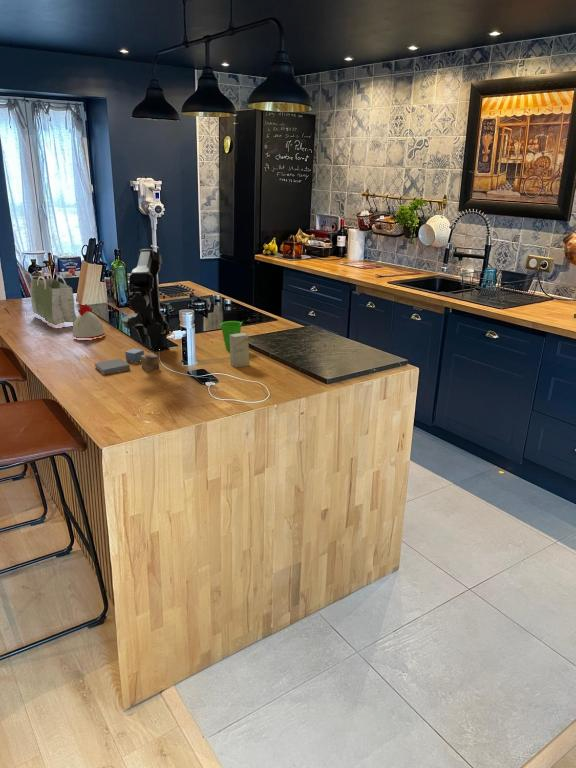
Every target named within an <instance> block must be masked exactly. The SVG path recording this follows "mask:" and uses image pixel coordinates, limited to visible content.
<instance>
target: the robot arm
mask: <svg viewBox="0 0 576 768" xmlns="http://www.w3.org/2000/svg"><path fill="white" fill-rule="evenodd" d="M137 257H138V258H137V261H138V262H137V265H136V267H135V268H133V269H132V271H131V273H130V274H129V280H128V281H129V283H128V286H129V287H128V290H129V291H128V292H129V293H133V296H132V297H131V299H130V301H129V305H130V308H131V309H132V310H133V312H132V313H130V314H128V315H127V316H124V317H122V318H121V322H122V324H123V327H124V328H126V329H128V330H130V329H132V328H133V329H135V330H136V332H137V333H138V338H140V339H139V340H140V341H141V343H142V344H146V340H147V338H148V341H149V342H148V343H149V345H148V346H149V347H150V348H151V349H150V348H149V349H150V350H152V351H153V352H159V351H158V350H159V349H161V350H160V351H164V349H165V350H168V349H170V347H169V346H168V338H167V336H168V335H170V327H169V324H168V322H167V320H166V317H165V315H164V313H163V312H162V311H161V302H160V293H159V292H160V291H159V279H158V274H159V272H160V270H161V265H162V263H163V260H162V255H161V253H160V252H157V251H155V250H154V249H152V248H142V249H139V252H138V254H137Z"/></svg>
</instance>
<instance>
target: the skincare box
mask: <svg viewBox="0 0 576 768" xmlns="http://www.w3.org/2000/svg"><path fill="white" fill-rule="evenodd" d="M229 337H230V351H229V353H230V354H229V355H230V356H229V358H230V365H231V366H232V367H233V368H241V367H248V366H250V355H249V352H250V350H249V349H250V347H249V334H248V333H245V332H240V333H237V334H230V335H229Z"/></svg>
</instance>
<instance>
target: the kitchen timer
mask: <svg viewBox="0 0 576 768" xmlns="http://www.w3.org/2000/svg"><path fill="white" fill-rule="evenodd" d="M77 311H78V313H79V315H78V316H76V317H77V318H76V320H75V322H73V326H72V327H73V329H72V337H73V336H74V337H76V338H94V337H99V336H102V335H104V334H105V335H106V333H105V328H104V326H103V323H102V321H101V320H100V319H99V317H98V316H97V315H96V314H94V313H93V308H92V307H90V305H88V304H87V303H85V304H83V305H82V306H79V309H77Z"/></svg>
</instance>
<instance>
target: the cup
mask: <svg viewBox="0 0 576 768" xmlns="http://www.w3.org/2000/svg"><path fill="white" fill-rule="evenodd" d="M219 325H220V326H221V327H220V328H221V332H222V336H223V341H224V345H225V349H226V351H228V352H230V337H229V335H230V334H237V333H241V331H242V325H243V323H242V321H239V320H238V321H237V320H229V321H224V322H223V321H222V322H221V323H220V324H219Z"/></svg>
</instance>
